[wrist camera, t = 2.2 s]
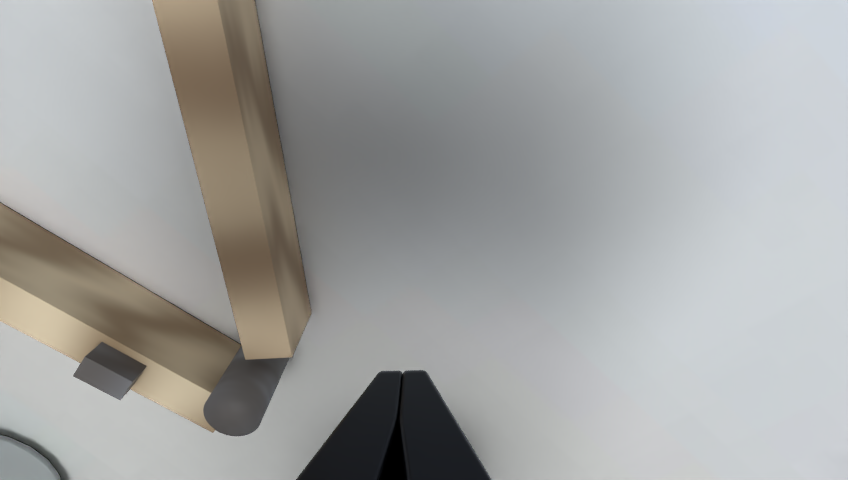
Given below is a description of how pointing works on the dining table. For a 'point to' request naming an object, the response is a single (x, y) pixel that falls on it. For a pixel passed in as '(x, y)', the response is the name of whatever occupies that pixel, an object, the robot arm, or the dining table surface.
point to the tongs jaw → (239, 166)
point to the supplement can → (23, 462)
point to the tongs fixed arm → (127, 333)
